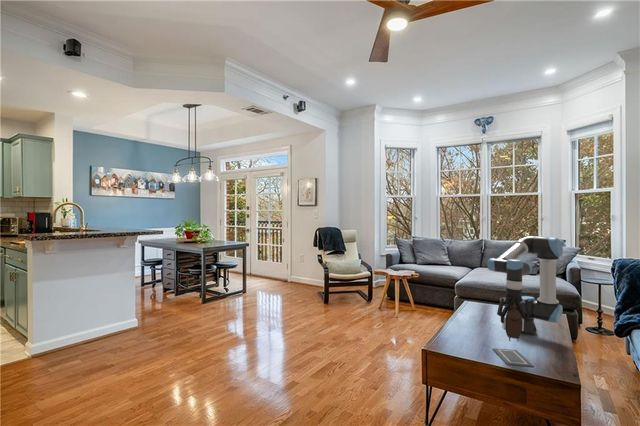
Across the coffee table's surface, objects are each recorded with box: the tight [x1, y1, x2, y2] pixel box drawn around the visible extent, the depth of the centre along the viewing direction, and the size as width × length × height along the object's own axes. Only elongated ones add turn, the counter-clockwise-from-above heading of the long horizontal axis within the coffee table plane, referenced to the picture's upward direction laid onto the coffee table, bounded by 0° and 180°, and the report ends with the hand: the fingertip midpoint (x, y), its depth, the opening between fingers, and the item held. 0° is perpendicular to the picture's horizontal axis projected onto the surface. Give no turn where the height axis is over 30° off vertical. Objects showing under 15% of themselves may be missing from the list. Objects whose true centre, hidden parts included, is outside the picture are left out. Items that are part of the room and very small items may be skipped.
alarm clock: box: [505, 303, 522, 342], centre depth 183 cm, size 14×7×20 cm, turn 153°
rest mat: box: [492, 348, 535, 368], centre depth 183 cm, size 13×20×1 cm, turn 172°
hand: (512, 329), depth 183 cm, fingers closed on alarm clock, 8 cm apart
